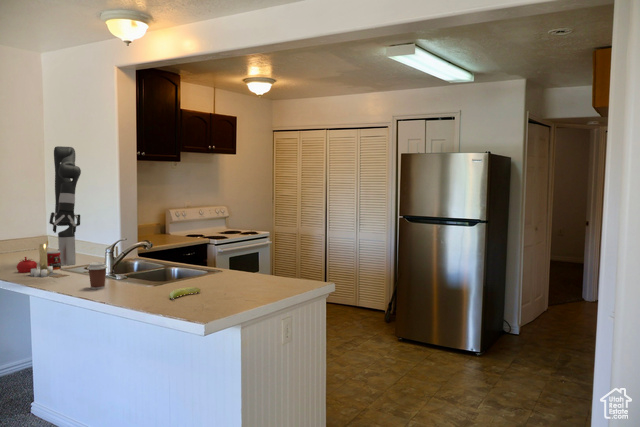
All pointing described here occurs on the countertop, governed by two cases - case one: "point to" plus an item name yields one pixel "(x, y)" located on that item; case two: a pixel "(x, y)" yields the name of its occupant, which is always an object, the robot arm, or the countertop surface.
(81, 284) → the countertop surface
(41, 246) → the gold tall tapered cylinder
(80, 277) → the countertop surface
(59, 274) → the walnut pad
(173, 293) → the green caterpillar
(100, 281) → the coffee cup
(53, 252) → the canned food
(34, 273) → the mat
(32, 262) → the red tomato
